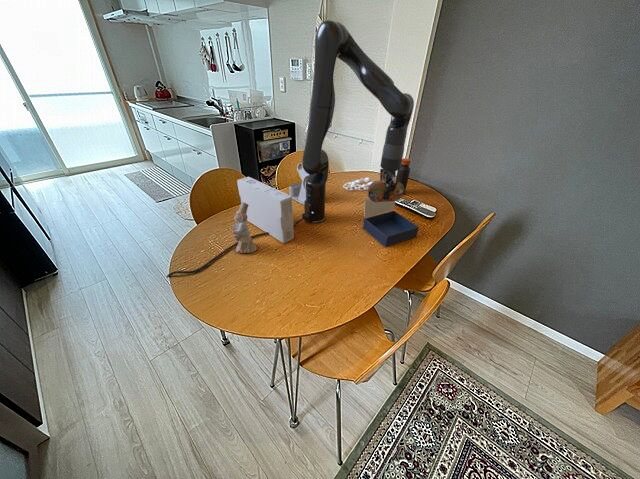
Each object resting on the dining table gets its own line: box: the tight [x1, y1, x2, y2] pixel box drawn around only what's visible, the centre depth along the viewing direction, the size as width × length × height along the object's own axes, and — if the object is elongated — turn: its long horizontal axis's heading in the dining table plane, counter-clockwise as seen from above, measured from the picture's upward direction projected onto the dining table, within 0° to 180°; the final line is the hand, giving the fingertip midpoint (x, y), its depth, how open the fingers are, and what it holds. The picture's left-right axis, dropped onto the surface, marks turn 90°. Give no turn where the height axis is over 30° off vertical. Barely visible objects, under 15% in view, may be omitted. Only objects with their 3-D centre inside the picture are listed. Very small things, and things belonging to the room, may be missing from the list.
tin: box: [366, 180, 406, 202], centre depth 104 cm, size 15×3×8 cm, turn 98°
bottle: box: [395, 157, 411, 195], centre depth 149 cm, size 7×7×20 cm
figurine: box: [231, 202, 258, 254], centre depth 101 cm, size 9×8×20 cm
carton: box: [362, 210, 420, 248], centre depth 117 cm, size 18×17×5 cm
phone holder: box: [288, 162, 309, 206], centre depth 141 cm, size 17×10×18 cm, turn 42°
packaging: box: [236, 176, 295, 244], centre depth 114 cm, size 30×6×20 cm, turn 47°
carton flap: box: [363, 198, 396, 218], centre depth 119 cm, size 18×8×1 cm
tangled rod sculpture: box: [342, 176, 374, 192], centre depth 159 cm, size 19×14×4 cm
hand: (384, 197), depth 105 cm, fingers closed on tin, 2 cm apart
